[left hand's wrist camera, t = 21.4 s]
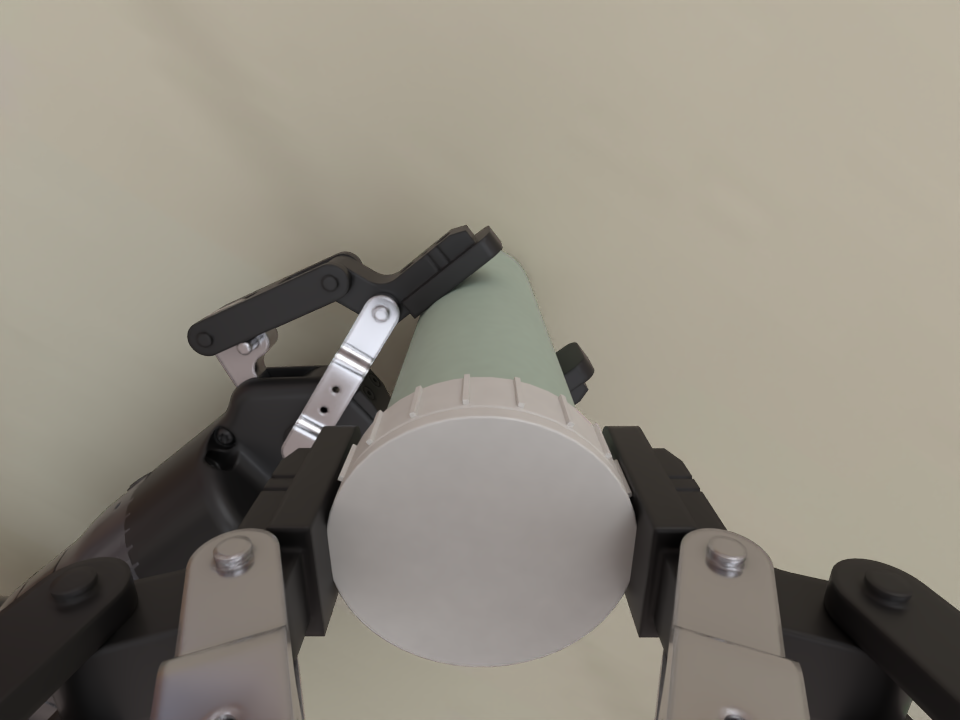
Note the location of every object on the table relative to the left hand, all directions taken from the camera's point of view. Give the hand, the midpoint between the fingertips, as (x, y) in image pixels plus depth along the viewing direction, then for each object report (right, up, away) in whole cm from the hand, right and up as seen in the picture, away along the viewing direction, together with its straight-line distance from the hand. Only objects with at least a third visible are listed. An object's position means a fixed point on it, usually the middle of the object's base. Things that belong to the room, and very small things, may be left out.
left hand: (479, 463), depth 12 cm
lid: (0, -1, -2) cm, 3 cm away
